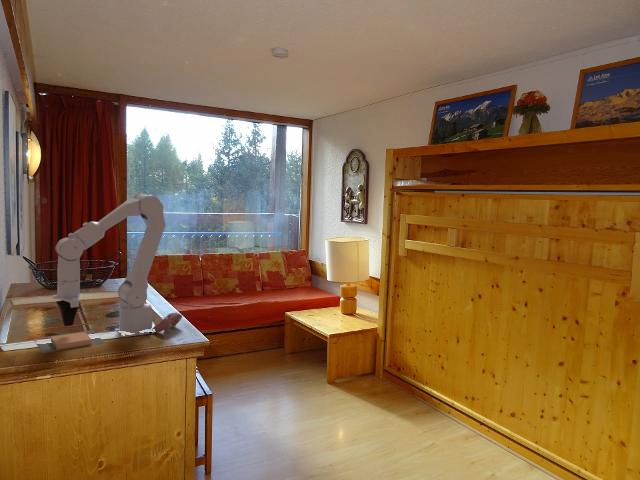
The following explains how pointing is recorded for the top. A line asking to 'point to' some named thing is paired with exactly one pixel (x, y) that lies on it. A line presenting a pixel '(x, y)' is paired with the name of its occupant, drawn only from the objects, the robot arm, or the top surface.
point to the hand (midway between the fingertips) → (68, 325)
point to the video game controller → (168, 322)
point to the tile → (71, 340)
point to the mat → (50, 348)
